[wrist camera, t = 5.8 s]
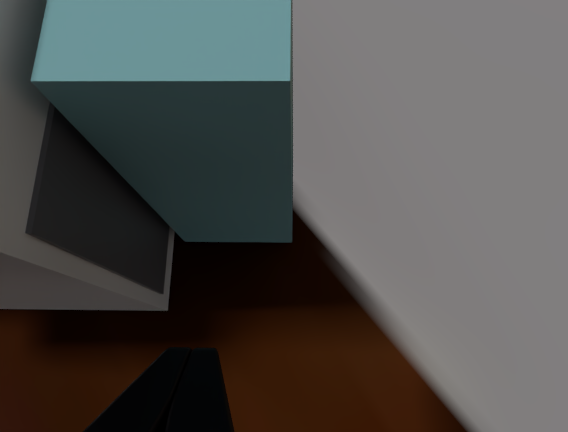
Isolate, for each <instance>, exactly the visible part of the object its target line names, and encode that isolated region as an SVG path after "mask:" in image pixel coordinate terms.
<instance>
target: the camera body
mask: <svg viewBox="0 0 568 432" xmlns="http://www.w3.org/2000/svg"><path fill="white" fill-rule="evenodd" d="M46 3H47V0H0V309H52V310H145V311H168V303H169V292H170V280H171V269H172V257H173V246H174V234H175V231H174V230H173V229H172V228H171V227H170V226H169V225H168V224H167V223H166V222H165V221H164V220H163V218H162V217H161V216H160V215H159V214H158V213H157V212H156V211H155V210H154V209H153V208H152V207H151V206H150V205H149V204H148V203H147V202H146V201H145V200H144V199H143V198H142V197H141V196H140V195H139V194H138V192H137V191H136V190H135V189H134V188H133V187H132V186H131V185H130V184H129V183H128V182H127V181H126V180H125V179H124V178H123V177H122V176H121V175H120V174H119V173H118V172H117V171H116V170H115V169H114V168H113V166H112V165H111V164H110V163H109V162H108V161H107V160H106V159H105V158H104V157H103V156H102V155H101V154H100V153H99V152H98V151H97V150H96V149H95V148H94V147H93V146H92V145H91V144H90V143H89V142H88V141H87V139H86V138H85V137H84V136H83V135H82V134H81V133H80V132H79V131H78V130H77V129H76V128H75V127H74V126H73V125H72V124H71V123H70V122H69V121H68V120H67V119H66V118H65V117H64V116H63V115H62V113H61V112H60V111H59V110H58V109H57V108H56V107H55V106H54V105H53V104H52V103H51V102H50V101H49V100H48V99H47V98H46V97H45V96H44V95H43V94H42V93H41V92H40V91H39V90H38V89H37V87H36V86H35V85H34V84H33V83H32V82H31V76H32V71H33V67H34V62H35V57H36V52H37V47H38V42H39V37H40V33H41V28H42V23H43V18H44V13H45V8H46Z"/></svg>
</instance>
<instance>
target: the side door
mask: <svg viewBox="0 0 568 432" xmlns="http://www.w3.org/2000/svg"><path fill="white" fill-rule="evenodd" d="M292 76H293V72H292V0H47V3H46V8H45V13H44V18H43V23H42V28H41V33H40V37H39V42H38V47H37V52H36V57H35V62H34V67H33V71H32V76H31V82H32V83H33V84H34V85H35V86H36V87H37V89H38V90H39V91H40V92H41V93H42V94H43V95H44V96H45V97H46V98H47V99H48V100H49V101H50V102H51V103H52V104H53V105H54V106H55V107H56V108H57V109H58V110H59V111H60V112H61V113H62V115H63V116H64V117H65V118H66V119H67V120H68V121H69V122H70V123H71V124H72V125H73V126H74V127H75V128H76V129H77V130H78V131H79V132H80V133H81V134H82V135H83V136H84V137H85V138H86V139H87V141H88V142H89V143H90V144H91V145H92V146H93V147H94V148H95V149H96V150H97V151H98V152H99V153H100V154H101V155H102V156H103V157H104V158H105V159H106V160H107V161H108V162H109V163H110V164H111V165H112V166H113V168H114V169H115V170H116V171H117V172H118V173H119V174H120V175H121V176H122V177H123V178H124V179H125V180H126V181H127V182H128V183H129V184H130V185H131V186H132V187H133V188H134V189H135V190H136V191H137V192H138V194H139V195H140V196H141V197H142V198H143V199H144V200H145V201H146V202H147V203H148V204H149V205H150V206H151V207H152V208H153V209H154V210H155V211H156V212H157V213H158V214H159V215H160V216H161V217H162V218H163V220H164V221H165V222H166V223H167V224H168V225H169V226H170V227H171V228H172V229H173V230H174V231H175V232H176V233H177V234H178V235H179V236H180V237H181V238H182V239H183V240H184V241H185V242H292V207H293V87H292V86H293V85H292V84H293V83H292V82H293V80H292V79H293V77H292Z"/></svg>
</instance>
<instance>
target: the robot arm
mask: <svg viewBox="0 0 568 432" xmlns="http://www.w3.org/2000/svg"><path fill="white" fill-rule="evenodd" d="M83 432H234V427H233V423H232V418H231V413H230V408H229V403H228V398H227V394H226V389H225V384H224V379H223V374H222V369H221V365H220V360H219V355H218V351H217V349H215V348H195V349H193V350H192V349H191V348H188V347H170V348H168V349H166V350H165V351H164V352H163V353H162V354H161V355H160V356H159V357H158V358H157V359H156V360H155V361H154V362H153V363H152V364H151V365H150V366H149V367H148V368H147V369H146V370H145V371H144V372H143V373H142V374H141V375H140V376H139V377H138V378H137V379H136V380H135V381H134V382H132V383H131V384H130V385H129V386H128V387H127V388H126V389H125V390H124V391H123V392H122V393H121V394H120V395H119V396H118V397H117V398H116V399H115V400H114V401H113V402H112V403H111V404H110V405H109V406H108V407H107V408H106V409H105V410H104V411H103V412H102V413H101V414H100V415H99V416H98V417H97V418H96V419H95V420H94V421H93V422H92V423H91V424H90V425H89V426H88V427H87V428H86V429H85V430H84V431H83Z"/></svg>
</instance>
